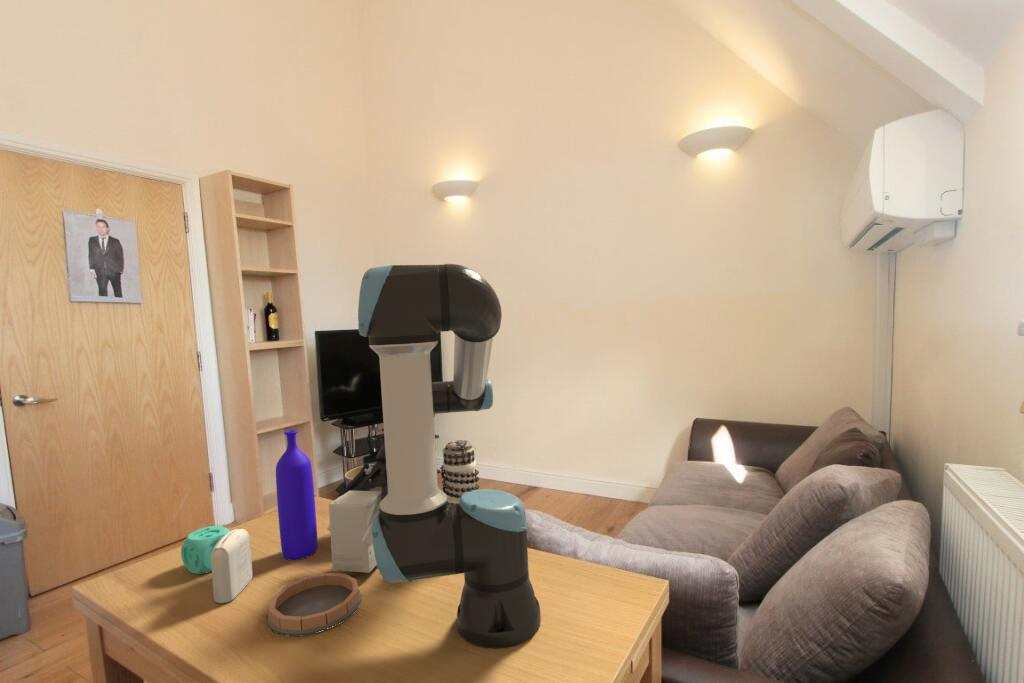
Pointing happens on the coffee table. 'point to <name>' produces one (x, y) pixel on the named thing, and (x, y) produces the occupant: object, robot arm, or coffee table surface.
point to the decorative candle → (458, 470)
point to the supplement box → (353, 530)
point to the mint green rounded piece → (201, 548)
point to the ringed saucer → (314, 604)
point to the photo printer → (231, 565)
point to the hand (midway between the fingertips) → (348, 537)
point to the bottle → (296, 502)
